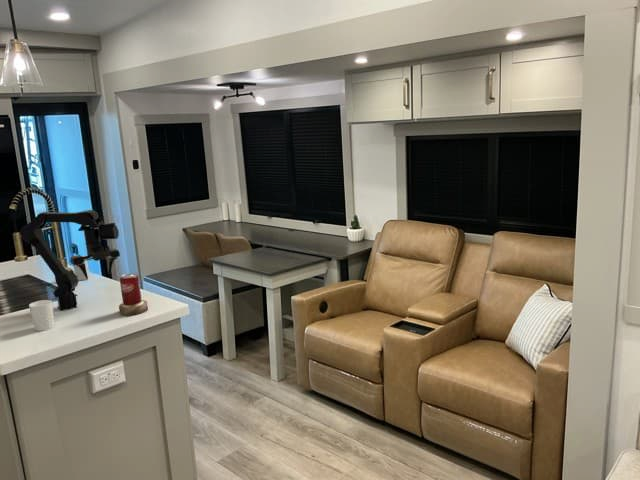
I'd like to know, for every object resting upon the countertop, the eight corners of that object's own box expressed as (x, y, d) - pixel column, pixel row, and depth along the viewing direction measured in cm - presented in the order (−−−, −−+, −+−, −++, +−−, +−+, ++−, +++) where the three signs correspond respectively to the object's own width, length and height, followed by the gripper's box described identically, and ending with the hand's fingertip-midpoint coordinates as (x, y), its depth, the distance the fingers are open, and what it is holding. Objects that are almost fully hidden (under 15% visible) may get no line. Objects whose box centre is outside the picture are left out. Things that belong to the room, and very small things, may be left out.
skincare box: (90, 277, 274) (86, 255, 272) (88, 280, 270) (84, 257, 267) (77, 278, 273) (74, 256, 271) (75, 281, 269) (71, 258, 266)
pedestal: (125, 317, 209) (124, 310, 209) (116, 311, 218) (115, 304, 217) (152, 310, 216) (151, 303, 215) (142, 304, 225) (141, 297, 224)
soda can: (131, 307, 212) (127, 279, 209) (119, 305, 215) (115, 277, 213) (145, 302, 218) (142, 274, 215) (133, 300, 221) (129, 272, 219)
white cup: (38, 325, 207) (34, 300, 205) (59, 323, 208) (55, 299, 206) (29, 332, 199) (25, 307, 197) (51, 330, 200) (46, 305, 198)
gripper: (74, 247, 209) (80, 284, 212) (121, 238, 220) (126, 274, 224) (67, 243, 218) (73, 279, 221) (113, 235, 229) (118, 270, 232)
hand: (98, 276), depth 224 cm, fingers open, 9 cm apart
